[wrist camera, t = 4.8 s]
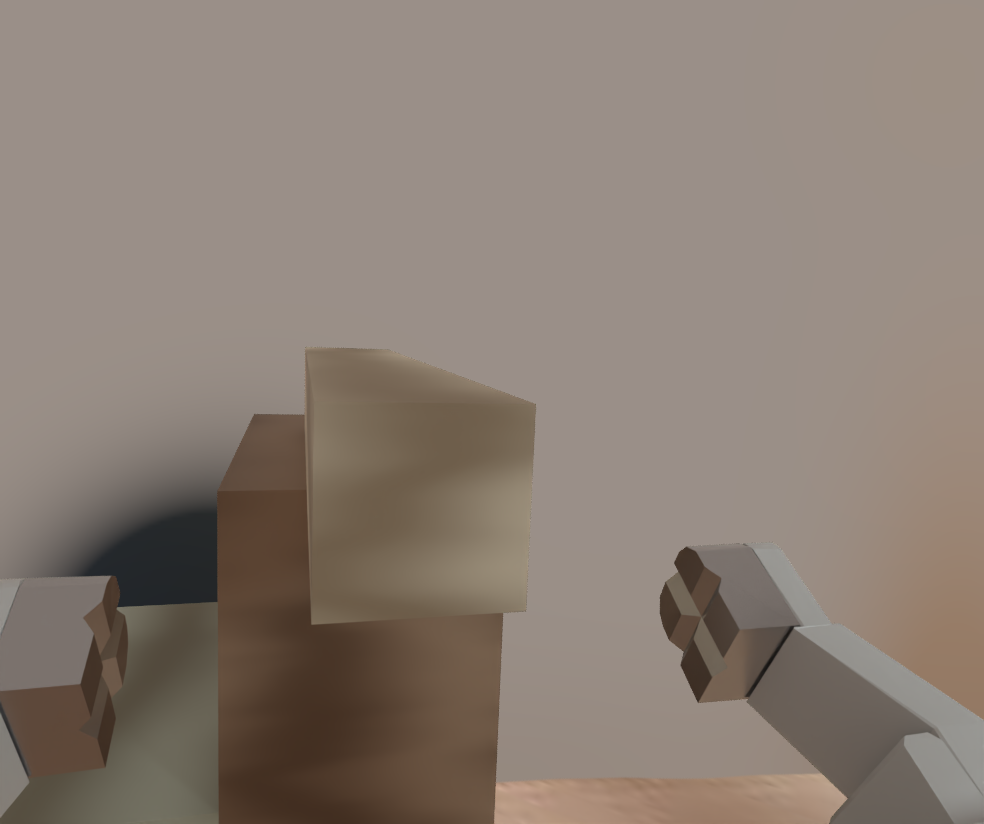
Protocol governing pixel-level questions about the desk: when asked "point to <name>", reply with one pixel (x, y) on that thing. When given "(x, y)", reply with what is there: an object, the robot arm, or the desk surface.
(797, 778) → the desk surface
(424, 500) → the beech bar
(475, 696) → the stepped stand
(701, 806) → the desk surface
